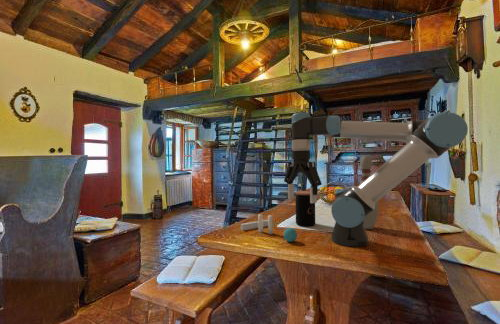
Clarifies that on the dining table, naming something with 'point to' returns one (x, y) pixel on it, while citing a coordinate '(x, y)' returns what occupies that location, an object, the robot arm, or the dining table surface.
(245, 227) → the back wall
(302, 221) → the coffee jar
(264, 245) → the dining table surface
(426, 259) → the dining table surface
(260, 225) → the back pin
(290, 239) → the ball
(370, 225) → the bowling pin
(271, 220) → the front pin
